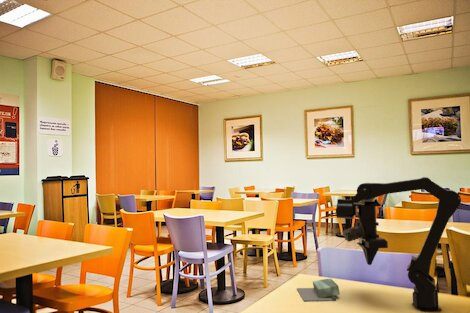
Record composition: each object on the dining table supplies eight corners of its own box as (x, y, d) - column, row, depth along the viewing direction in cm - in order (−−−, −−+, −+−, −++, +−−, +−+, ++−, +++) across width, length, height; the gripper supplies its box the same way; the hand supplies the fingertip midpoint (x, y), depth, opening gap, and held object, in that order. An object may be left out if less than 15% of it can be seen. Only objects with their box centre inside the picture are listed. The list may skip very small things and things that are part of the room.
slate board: (326, 288, 140) (325, 285, 140) (336, 300, 126) (336, 297, 126) (296, 289, 140) (296, 286, 140) (303, 301, 126) (303, 298, 126)
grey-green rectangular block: (330, 278, 139) (312, 281, 138) (338, 285, 129) (318, 289, 128) (332, 286, 138) (314, 289, 138) (339, 294, 128) (320, 298, 128)
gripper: (336, 216, 137) (338, 259, 136) (353, 222, 119) (354, 271, 118) (366, 216, 137) (368, 258, 136) (387, 222, 119) (389, 271, 118)
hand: (369, 264), depth 127 cm, fingers closed
